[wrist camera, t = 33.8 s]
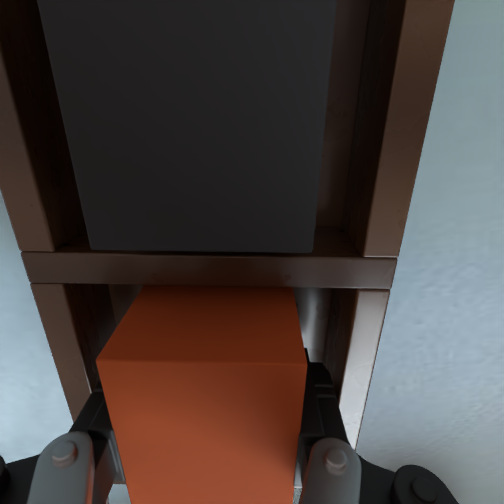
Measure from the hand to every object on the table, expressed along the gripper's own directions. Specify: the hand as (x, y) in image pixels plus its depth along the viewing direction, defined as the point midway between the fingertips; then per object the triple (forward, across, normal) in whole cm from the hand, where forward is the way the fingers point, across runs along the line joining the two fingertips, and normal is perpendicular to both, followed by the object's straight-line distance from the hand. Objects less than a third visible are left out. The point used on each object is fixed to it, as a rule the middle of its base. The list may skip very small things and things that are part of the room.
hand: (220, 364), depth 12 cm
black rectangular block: (+1, 0, -9) cm, 9 cm away
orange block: (0, 0, 0) cm, 0 cm away
